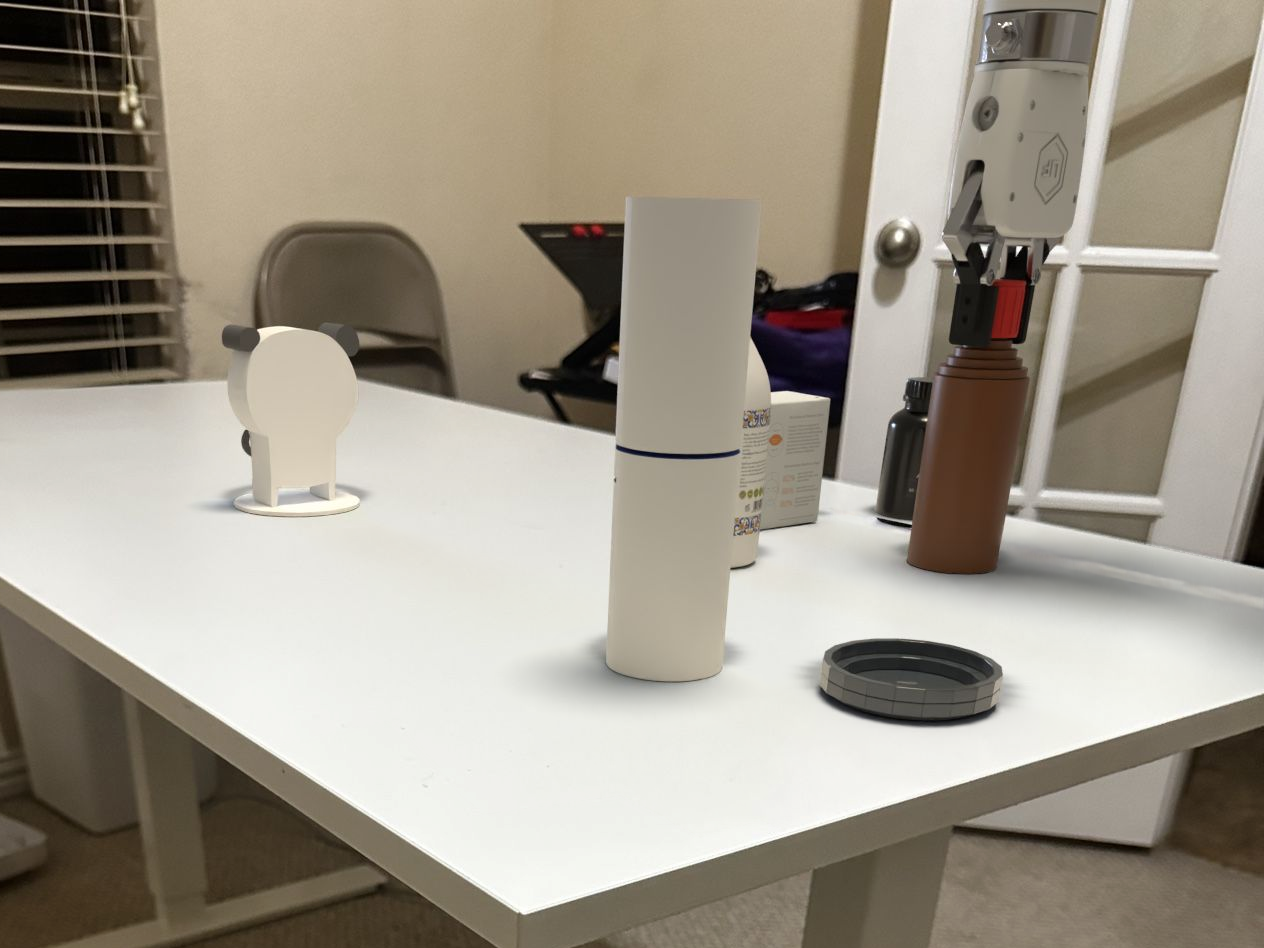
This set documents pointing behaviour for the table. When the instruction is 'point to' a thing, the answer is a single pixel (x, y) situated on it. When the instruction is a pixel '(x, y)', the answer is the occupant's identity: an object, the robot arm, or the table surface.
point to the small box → (794, 459)
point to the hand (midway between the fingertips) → (987, 341)
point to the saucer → (911, 678)
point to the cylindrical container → (679, 431)
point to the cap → (1008, 308)
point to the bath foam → (752, 461)
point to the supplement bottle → (904, 454)
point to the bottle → (968, 459)
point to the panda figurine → (293, 414)
